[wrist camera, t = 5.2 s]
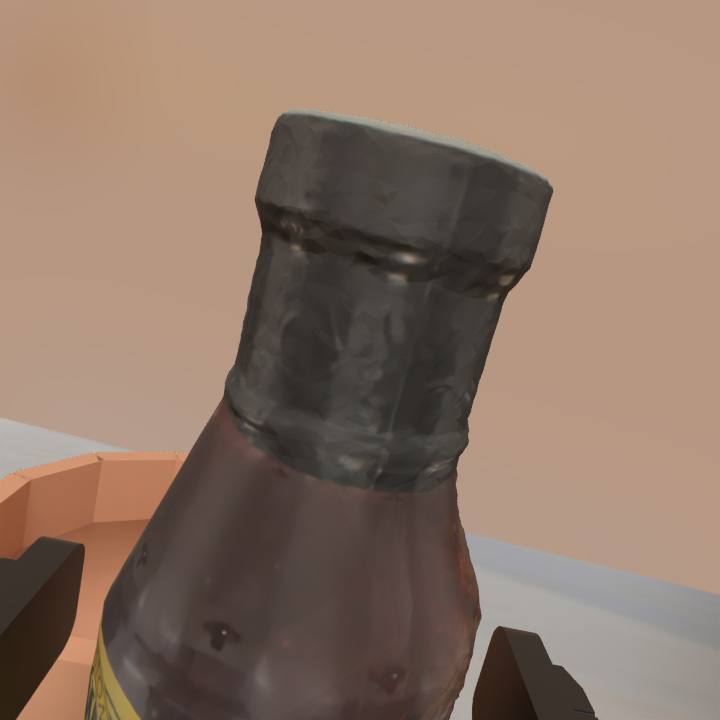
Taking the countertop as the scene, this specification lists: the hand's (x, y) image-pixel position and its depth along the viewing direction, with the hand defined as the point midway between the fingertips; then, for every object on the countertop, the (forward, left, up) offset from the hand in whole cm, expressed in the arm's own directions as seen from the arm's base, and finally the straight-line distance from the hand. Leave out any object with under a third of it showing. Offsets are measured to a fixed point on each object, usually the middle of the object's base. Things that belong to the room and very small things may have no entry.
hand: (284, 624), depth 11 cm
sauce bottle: (0, +1, -11) cm, 11 cm away
